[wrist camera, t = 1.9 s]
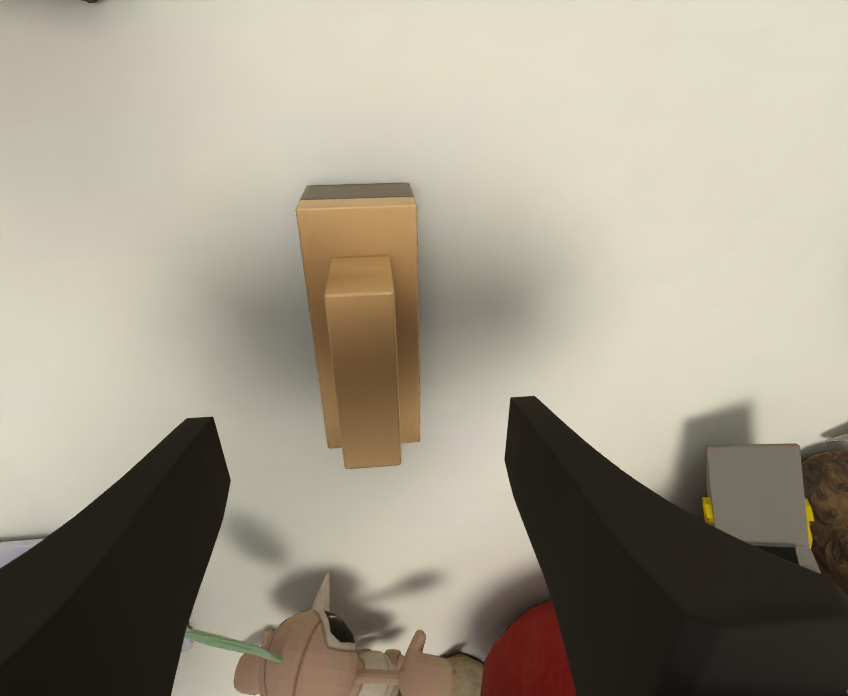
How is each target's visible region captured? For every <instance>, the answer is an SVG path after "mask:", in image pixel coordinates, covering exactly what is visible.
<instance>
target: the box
mask: <svg viewBox="0 0 848 696" xmlns="http://www.w3.org/2000/svg"><path fill="white" fill-rule="evenodd" d="M82 1H86V2H88V3H95V2H97V1H98V0H82Z"/></svg>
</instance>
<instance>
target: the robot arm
mask: <svg viewBox="0 0 848 696" xmlns="http://www.w3.org/2000/svg"><path fill="white" fill-rule="evenodd" d="M505 464H506V468H507V472H508V477H509V481H510V485H511V489H512V493H513V496H514V499H515V502H516V505H517V507H518V510H519V513H520V515H521V518H522V521H523V523H524V526H525V528H526V531H527V534H528V536H529V539H530V541H531V544H532V547H533V549H534V552H535V554H536V557H537V560H538V562H539V565H540V567H541V570H542V572H543V575H544V578H545V581H546V584H547V587H548V590H549V593H550V596H551V599H552V603H553V607H554V610H555V614H556V618H557V621H558V625H559V628H560V632H561V636H562V640H563V643H564V647H565V651H566V655H567V659H568V663H569V667H570V671H571V674H572V678H573V682H574V687H575V691H576V695H577V696H848V693H847V692H846V691H847V690H848V597H847V596H846V594H845V593H844V592H843V591H842V590H841V589H840V588H839V587H838V586H837V585H836V583H835V582H834V581H833V580H832V579H831V578H830V577H827V576H825V575H822V574H820V573H818V572H815V571H813V570H810V569H808V568H805V567H803V566H800V565H798V564H795V563H793V562H790V561H788V560H785V559H783V558H780V557H778V556H776V555H773V554H771V553H768V552H766V551H764V550H762V549H759V548H757V547H755V546H753V545H751V544H749V543H747V542H744V541H742V540H740V539H738V538H736V537H734V536H732V535H730V534H728V533H726V532H724V531H722V530H720V529H718V528H716V527H714V526H712V525H710V524H708V523H706V522H704V521H703V520H701V519H699V518H697V517H695V516H694V515H692V514H690V513H688V512H686V511H684V510H683V509H681V508H679V507H677V506H676V505H674V504H672V503H671V502H669V501H667V500H666V499H664V498H662V497H661V496H659V495H658V494H656V493H655V492H653V491H652V490H650V489H649V488H647V487H645V486H644V485H642V484H641V483H639V482H638V481H636V480H635V479H633V478H632V477H631V476H629V475H628V474H626V473H625V472H624V471H622V470H621V469H620V468H618V467H617V466H616V465H614V464H613V463H612V462H610V461H609V460H608V459H606V458H605V457H604V456H603V455H601V454H600V453H599V452H598V451H596V450H595V449H594V448H593V447H591V446H590V445H589V444H588V443H587V442H585V441H584V440H583V439H582V438H581V437H580V436H578V435H577V434H576V433H575V432H574V431H573V430H572V429H570V428H569V427H568V426H567V425H566V424H565V423H564V422H563V421H562V420H560V419H559V418H558V417H557V416H556V415H555V414H554V413H553V412H552V411H551V410H550V409H548V408H547V407H546V406H545V405H544V404H543V403H542V402H541V401H540V400H539V399H537V398H536V397H535V396H527V397H511V399H510V409H509V419H508V429H507V440H506V450H505ZM230 481H231V480H230V476H229V472H228V469H227V465H226V461H225V458H224V454H223V451H222V447H221V443H220V440H219V436H218V432H217V429H216V425H215V421H214V418H213V417H201V418H187V419H186V420H184V421H183V422H182V423H181V424H180V425H179V426H177V427H176V428H175V429H174V430H173V431H172V432H171V433H170V434H169V435H168V436H167V437H166V438H164V439H163V440H162V441H161V442H160V443H159V444H158V445H157V446H156V447H155V448H154V449H153V450H152V451H150V452H149V453H148V454H147V455H146V456H145V457H144V458H143V459H142V460H141V461H139V462H138V463H137V464H136V465H135V466H134V467H133V468H132V469H131V470H130V471H128V472H127V473H126V474H125V475H124V476H123V477H122V478H121V479H119V480H118V481H117V482H116V483H115V484H113V485H112V486H111V487H110V488H109V489H107V490H106V491H105V492H104V493H103V494H101V495H100V496H99V497H98V498H97V499H95V500H94V501H93V502H92V503H91V504H89V505H88V506H87V507H86V508H85V509H83V510H82V511H81V512H80V513H78V514H77V515H76V516H75V517H73V518H72V519H71V520H69V521H68V522H67V523H65V524H64V525H63V526H61V527H60V528H59V529H57V530H56V531H54V532H53V533H52V534H50V535H49V536H47V537H46V538H42V539H30V540H18V541H6V542H0V696H171V693H172V688H173V684H174V679H175V675H176V670H177V666H178V662H179V658H180V653H181V651H187V650H189V649H191V647H192V645H193V642H194V641H193V640H190V639H187V638H185V637H184V636H185V632H186V629H189V627H188V622H189V619H190V615H191V612H192V609H193V606H194V603H195V600H196V597H197V594H198V591H199V588H200V585H201V583H202V580H203V577H204V574H205V571H206V568H207V565H208V562H209V559H210V557H211V554H212V551H213V548H214V545H215V542H216V539H217V536H218V533H219V530H220V527H221V524H222V521H223V517H224V512H225V507H226V503H227V497H228V492H229V486H230Z"/></svg>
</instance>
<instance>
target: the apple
mask: <svg viewBox="0 0 848 696" xmlns="http://www.w3.org/2000/svg"><path fill="white" fill-rule="evenodd" d="M480 696H577V695H576V691H575V687H574V682H573V678H572V674H571V671H570V667H569V663H568V659H567V655H566V651H565V647H564V643H563V640H562V636H561V632H560V628H559V625H558V621H557V618H556V614H555V610H554V607H553V603H552V600H550V601H547V602H545V603H542V604H539V605H536V606H535V607H533V608H531V609H530V610H528V611H527V612H525V613H524V614H522V615H521V616H520V617H519V618H518V619H517V620H516V621H514V623H513V624H512V625H511V626H510V627H509V628H508V629H507V630H506V632H505V633H504V634H503V635H502V636H501V637H500V638H499V639H498V641H497V642H496V643H495V644H494V645H493V646H492V648H491V650H490V652H489V654H488V656H487V658H486V660H485V662H484V669H483V677H482V685H481V693H480Z"/></svg>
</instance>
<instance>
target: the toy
mask: <svg viewBox="0 0 848 696" xmlns="http://www.w3.org/2000/svg"><path fill="white" fill-rule="evenodd" d="M184 637H185V638H187V639H190V640H193V641H196V642H199V643H203V644H206V645H210V646H214V647H218V648H223V649H227V650H232V651H237V652H242V653H245V654H244V655H242V656H241V658H240V660H239V662H238V665H237V667H236V671H235V676H234V687H235V689H236V690H237V691H239V692H241V693H245V694H249V695H256V694H260V695H261V696H397V694H398V692H399V689H400V693H401V695H402V696H451V695H452V690H453V667H452V665H451V663H450V662H449V661H448V660H446V659H444V658H441V657H438V656H434V655H429V654H424V653H422V651H423V647H424V643H425V640H426V635H425V633H424V632H423V631H422V630H418V631H416V633H415V635H414V637H413V639H412V641H411V643H410V646H409V648H408V650H407V653H406V656H405V657H404V656H403V655H401V651H400V650H394V649H390V650H386V652H385V654H384V653H382V652H379V651H372V650H370V649H358V651H357V646H356V643H355V641H354V637H353V634H352V633H351V631H350V630H349V628H348V627H347V625H346V624H345V623H344V621H343V620H342V619H341V618H339V617H338V616H337V615H335V614H333V613H331V612H330V577H329V572H327V573H326V575H325V578H324V580H323V582H322V585H321V587H320V589H319V592H318V594H317V596H316V599H315V601H314V604H313V606H312V609H311V610H307V611H302V612H300V613H297V614H295V615H294V616H292V617H290V618H288V619H287V620H285V621H284V622H283V623H281V624H280V625H279V627H278V628H277V629H276V630H275V631H272V629H270V630H266V631H265V632H264V635H263V643H262V647H259V646H256V645H253V644H249V643H246V642H242V641H238V640H234V639H231V638H227V637H223V636H219V635H215V634H211V633H206V632H202V631H198V630H192V629H186V632H185V636H184Z"/></svg>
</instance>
